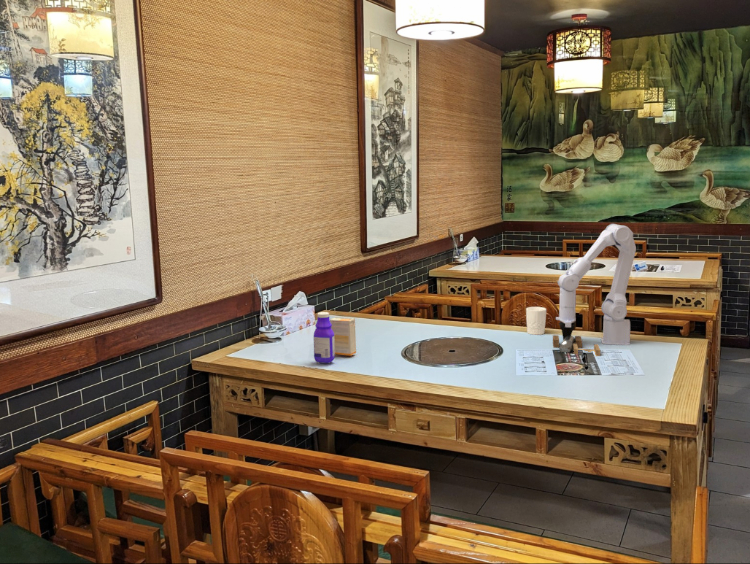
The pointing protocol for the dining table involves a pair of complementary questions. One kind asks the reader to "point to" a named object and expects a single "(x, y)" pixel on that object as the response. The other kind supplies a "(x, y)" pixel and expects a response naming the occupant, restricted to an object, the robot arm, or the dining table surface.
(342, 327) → the supplement box
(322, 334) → the bottle
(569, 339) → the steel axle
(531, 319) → the white cup
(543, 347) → the dining table surface
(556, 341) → the bearing block
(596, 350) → the oak cradle
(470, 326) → the dining table surface
